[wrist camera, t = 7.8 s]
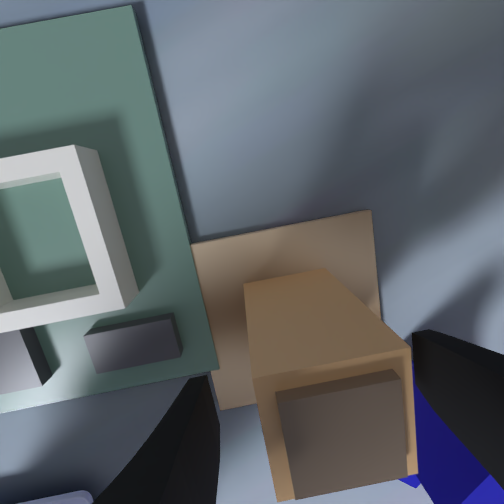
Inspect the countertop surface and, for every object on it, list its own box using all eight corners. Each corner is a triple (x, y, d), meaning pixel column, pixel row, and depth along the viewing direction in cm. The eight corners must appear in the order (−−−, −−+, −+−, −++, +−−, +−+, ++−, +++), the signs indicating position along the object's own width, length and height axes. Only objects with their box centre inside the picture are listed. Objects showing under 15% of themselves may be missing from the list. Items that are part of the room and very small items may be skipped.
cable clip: (347, 415, 16) (416, 549, 10) (399, 352, 15) (505, 458, 10) (490, 493, 19) (610, 636, 13) (541, 442, 18) (693, 569, 12)
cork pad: (382, 372, 16) (386, 377, 16) (220, 405, 16) (220, 410, 16) (367, 209, 14) (371, 210, 14) (180, 245, 14) (179, 247, 13)
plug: (334, 341, 15) (427, 488, 8) (257, 357, 15) (279, 518, 8) (325, 268, 14) (421, 356, 7) (243, 283, 14) (252, 389, 7)
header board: (220, 363, 15) (217, 394, 13) (-9, 409, 15) (-51, 448, 13) (135, 12, 12) (112, -29, 9) (-170, 67, 11) (-268, 39, 9)
